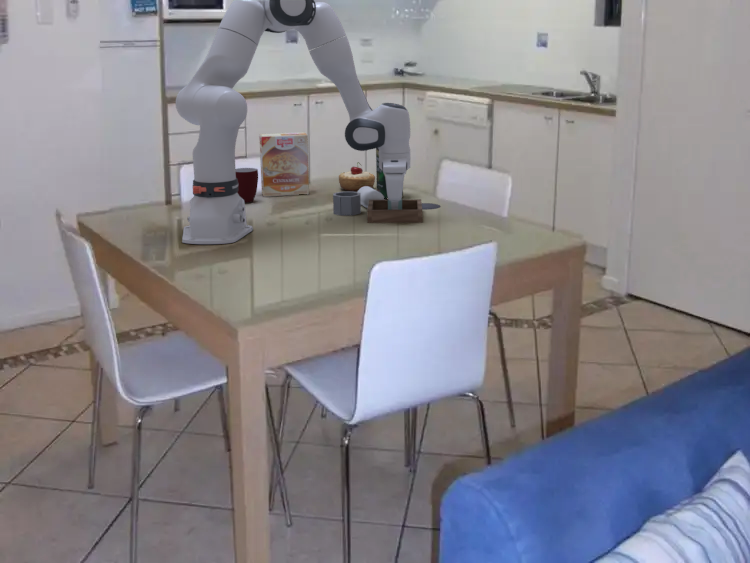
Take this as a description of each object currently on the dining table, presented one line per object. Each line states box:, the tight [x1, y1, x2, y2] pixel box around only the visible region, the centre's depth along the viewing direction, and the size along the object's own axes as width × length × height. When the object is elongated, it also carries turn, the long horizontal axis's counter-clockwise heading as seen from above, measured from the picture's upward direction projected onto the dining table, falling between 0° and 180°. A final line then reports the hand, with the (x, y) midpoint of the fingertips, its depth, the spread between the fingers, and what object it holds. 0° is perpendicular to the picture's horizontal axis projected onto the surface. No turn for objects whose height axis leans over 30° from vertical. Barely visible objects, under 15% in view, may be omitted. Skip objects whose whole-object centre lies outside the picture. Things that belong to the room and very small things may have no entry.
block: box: [387, 198, 403, 210], centre depth 261 cm, size 4×4×5 cm
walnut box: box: [366, 198, 423, 224], centre depth 261 cm, size 15×15×4 cm
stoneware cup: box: [332, 191, 362, 216], centre depth 267 cm, size 8×8×6 cm
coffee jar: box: [375, 148, 404, 199], centre depth 290 cm, size 10×8×19 cm
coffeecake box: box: [258, 131, 310, 198], centre depth 296 cm, size 15×7×20 cm, turn 103°
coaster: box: [422, 202, 441, 211], centre depth 275 cm, size 9×9×1 cm
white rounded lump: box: [357, 186, 386, 210], centre depth 275 cm, size 9×6×6 cm
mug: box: [235, 167, 259, 204], centre depth 287 cm, size 10×8×10 cm
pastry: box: [338, 161, 376, 192], centre depth 304 cm, size 12×12×9 cm
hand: (395, 210), depth 261 cm, fingers open, 6 cm apart
